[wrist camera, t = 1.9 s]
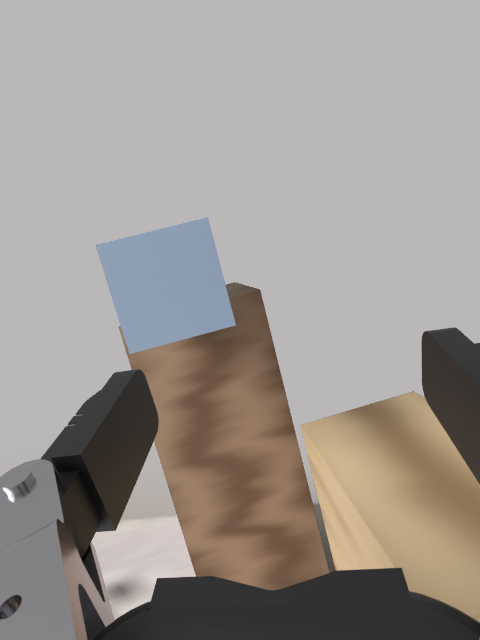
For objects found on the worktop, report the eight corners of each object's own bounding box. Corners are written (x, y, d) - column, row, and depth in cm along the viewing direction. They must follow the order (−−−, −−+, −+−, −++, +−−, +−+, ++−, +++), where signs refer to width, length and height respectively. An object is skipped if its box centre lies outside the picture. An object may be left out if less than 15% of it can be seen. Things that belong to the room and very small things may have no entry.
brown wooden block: (295, 519, 48) (234, 282, 43) (351, 663, 31) (260, 289, 26) (221, 542, 48) (151, 304, 43) (235, 703, 30) (118, 326, 25)
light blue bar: (210, 288, 43) (201, 255, 43) (235, 325, 14) (207, 217, 13) (177, 297, 43) (167, 263, 42) (129, 354, 13) (95, 245, 13)
